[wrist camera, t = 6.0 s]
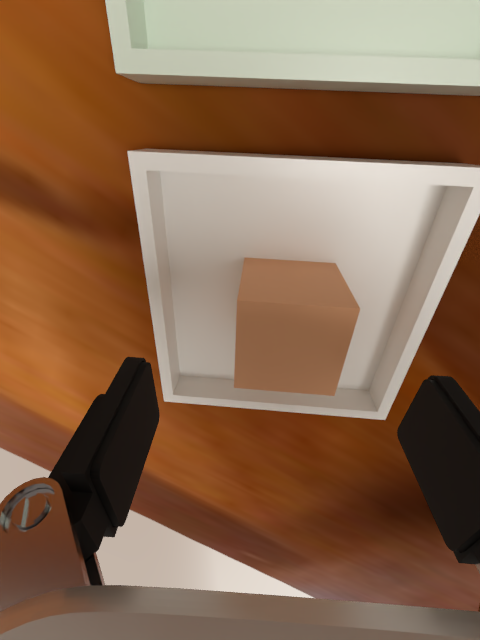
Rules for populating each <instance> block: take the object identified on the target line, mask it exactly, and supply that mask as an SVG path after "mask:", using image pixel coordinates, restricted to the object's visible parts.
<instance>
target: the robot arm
mask: <svg viewBox="0 0 480 640" xmlns="http://www.w3.org/2000/svg"><path fill="white" fill-rule="evenodd" d="M158 422H159V408H158V402H157V397H156V391H155V386H154V380H153V374H152V369H151V364H150V363H148V362H146V360H145V359H144V358H136V357H127V358H126V359H125V360H124V362H123V364H122V365H121V367H120V369H119V371H118V372H117V374H116V376H115V378H114V380H113V381H112V383H111V385H110V387H109V388H108V390H107V392H106V394H100V395H98V396H97V397H96V399H95V400H94V401H93V403H92V405H91V407H90V408H89V410H88V412H87V413H86V415H85V417H84V418H83V420H82V422H81V423H80V425H79V427H78V428H77V430H76V432H75V433H74V435H73V437H72V438H71V440H70V442H69V444H68V445H67V447H66V449H65V450H64V452H63V454H62V455H61V457H60V459H59V460H58V462H57V464H56V465H55V467H54V469H53V470H52V472H51V474H50V476H49V477H48V478H45V477H43V478H36V479H33V480H30V481H28V482H25V483H23V484H22V485H20V486H19V487H17V488H16V489H14V490H13V491H12V492H11V493H10V494H9V495H7V496H6V497H5V498H4V500H3V501H2V502H1V504H0V640H480V605H479V610H478V612H476V611H464V610H452V609H439V608H427V607H415V606H403V605H391V604H379V603H366V602H353V601H340V600H328V599H315V598H302V597H289V596H276V595H263V594H248V593H235V592H220V591H208V590H207V591H206V590H194V589H180V588H160V587H142V586H121V585H105V583H104V579H103V576H102V572H101V570H100V566H99V562H98V559H97V555H96V551H97V550H98V549H99V547H100V544H101V542H102V539H103V536H106V537H115V534H116V531H117V528H118V526H123V525H124V523H125V520H126V518H127V515H128V512H129V509H130V506H131V503H132V500H133V497H134V494H135V491H136V488H137V485H138V482H139V479H140V476H141V473H142V470H143V467H144V464H145V461H146V458H147V455H148V452H149V449H150V446H151V443H152V440H153V437H154V434H155V431H156V428H157V425H158ZM397 433H398V439H399V441H400V443H401V446H402V448H403V450H404V452H405V454H406V457H407V459H408V461H409V463H410V466H411V468H412V470H413V472H414V474H415V477H416V479H417V481H418V483H419V486H420V488H421V490H422V492H423V494H424V497H425V499H426V501H427V503H428V506H429V508H430V510H431V512H432V515H433V517H434V519H435V521H436V523H437V526H438V528H439V530H440V532H441V535H442V537H443V539H444V541H445V543H446V545H447V546H448V548H449V549H450V550H452V551H454V554H455V556H456V558H457V560H458V562H459V563H467V564H475V565H476V567H477V569H478V571H479V573H480V412H479V410H478V409H477V408H476V407H475V405H474V404H473V403H472V401H471V400H470V399H469V397H468V396H467V395H466V394H465V392H464V391H463V390H462V388H461V387H460V386H459V385H458V383H457V382H456V381H455V380H454V379H453V378H452V377H448V376H430V377H429V378H428V379H427V380H424V381H423V383H422V385H421V386H420V388H419V390H418V392H417V394H416V396H415V398H414V399H413V401H412V403H411V405H410V407H409V409H408V411H407V413H406V414H405V416H404V418H403V420H402V422H401V424H400V426H399V428H398V432H397Z"/></svg>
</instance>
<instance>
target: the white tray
mask: <svg viewBox="0 0 480 640" xmlns="http://www.w3.org/2000/svg"><path fill="white" fill-rule="evenodd" d="M127 152H128V159H129V166H130V173H131V180H132V186H133V193H134V200H135V207H136V214H137V221H138V227H139V234H140V241H141V248H142V255H143V261H144V268H145V275H146V282H147V289H148V296H149V302H150V309H151V316H152V323H153V330H154V337H155V343H156V350H157V357H158V364H159V371H160V377H161V384H162V391H163V398H164V401H165V402H177V403H189V404H201V405H213V406H225V407H237V408H248V409H260V410H272V411H284V412H296V413H308V414H320V415H331V416H343V417H355V418H367V419H379V420H385V419H386V417H387V415H388V413H389V410H390V408H391V406H392V404H393V402H394V400H395V397H396V395H397V393H398V391H399V389H400V386H401V384H402V382H403V380H404V378H405V376H406V373H407V371H408V369H409V367H410V365H411V362H412V360H413V358H414V356H415V354H416V352H417V349H418V347H419V345H420V343H421V341H422V338H423V336H424V334H425V332H426V330H427V328H428V325H429V323H430V321H431V319H432V317H433V314H434V312H435V310H436V308H437V306H438V304H439V301H440V299H441V297H442V295H443V293H444V290H445V288H446V286H447V284H448V282H449V280H450V277H451V275H452V273H453V271H454V269H455V266H456V264H457V262H458V260H459V258H460V256H461V253H462V251H463V249H464V247H465V245H466V242H467V240H468V238H469V236H470V234H471V232H472V229H473V227H474V225H475V223H476V221H477V218H478V216H479V214H480V166H478V165H471V164H464V163H443V162H422V161H401V160H379V159H358V158H337V157H316V156H294V155H273V154H252V153H230V152H209V151H188V150H167V149H140V150H132V151H127ZM244 257H245V258H261V259H277V260H293V261H309V262H326V263H336V265H337V267H338V269H339V270H340V272H341V274H342V276H343V278H344V280H345V281H346V283H347V285H348V287H349V289H350V291H351V292H352V294H353V296H354V298H355V300H356V302H357V303H358V305H359V307H360V312H359V315H358V319H357V322H356V325H355V329H354V332H353V335H352V339H351V342H350V345H349V349H348V352H347V355H346V359H345V362H344V366H343V369H342V372H341V376H340V379H339V382H338V386H337V389H336V392H335V396H328V395H316V394H303V393H291V392H279V391H266V390H254V389H242V388H234V370H235V343H236V315H237V298H238V292H239V286H240V280H241V275H242V269H243V263H244Z"/></svg>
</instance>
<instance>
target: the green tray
mask: <svg viewBox="0 0 480 640" xmlns="http://www.w3.org/2000/svg"><path fill="white" fill-rule="evenodd" d="M105 2H106V9H107V16H108V23H109V30H110V36H111V43H112V50H113V57H114V64H115V70H116V73H117V74H119V75H122V76H124V77H126V78H129V79H131V80H134V81H136V82H139V83H148V84H175V85H202V86H228V87H255V88H282V89H309V90H336V91H363V92H389V93H416V94H443V95H470V96H480V0H105Z"/></svg>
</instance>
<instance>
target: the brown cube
mask: <svg viewBox="0 0 480 640" xmlns="http://www.w3.org/2000/svg"><path fill="white" fill-rule="evenodd" d="M359 312H360V307H359V305H358V303H357V302H356V300H355V298H354V296H353V294H352V292H351V291H350V289H349V287H348V285H347V283H346V281H345V280H344V278H343V276H342V274H341V272H340V270H339V269H338V267H337V265H336V263H326V262H309V261H293V260H277V259H261V258H245V257H244V263H243V269H242V275H241V280H240V286H239V292H238V298H237V315H236V343H235V370H234V388H242V389H254V390H266V391H279V392H291V393H303V394H316V395H328V396H335V392H336V389H337V386H338V382H339V379H340V376H341V372H342V369H343V366H344V362H345V359H346V355H347V352H348V349H349V345H350V342H351V339H352V335H353V332H354V329H355V325H356V322H357V319H358V315H359Z"/></svg>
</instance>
